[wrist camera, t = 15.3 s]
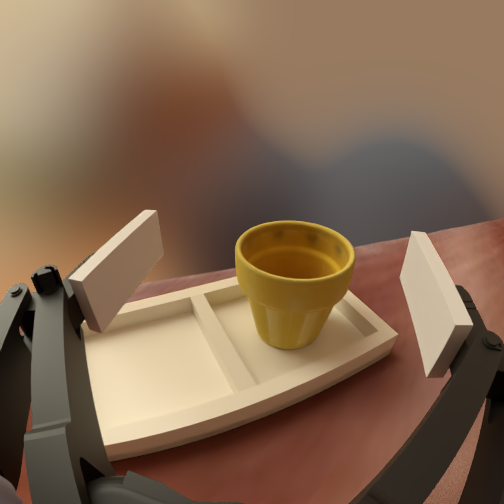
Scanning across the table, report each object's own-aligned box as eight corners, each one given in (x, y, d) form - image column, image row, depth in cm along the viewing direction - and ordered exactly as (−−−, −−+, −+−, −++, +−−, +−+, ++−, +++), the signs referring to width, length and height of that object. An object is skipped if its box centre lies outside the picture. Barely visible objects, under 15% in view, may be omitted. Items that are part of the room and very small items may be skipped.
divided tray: (307, 276, 41) (310, 257, 39) (389, 354, 28) (398, 334, 27) (70, 337, 29) (60, 318, 28) (80, 466, 17) (63, 451, 15)
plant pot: (259, 379, 25) (263, 292, 20) (224, 308, 34) (220, 228, 29) (355, 346, 28) (380, 263, 24) (307, 289, 37) (316, 214, 32)
